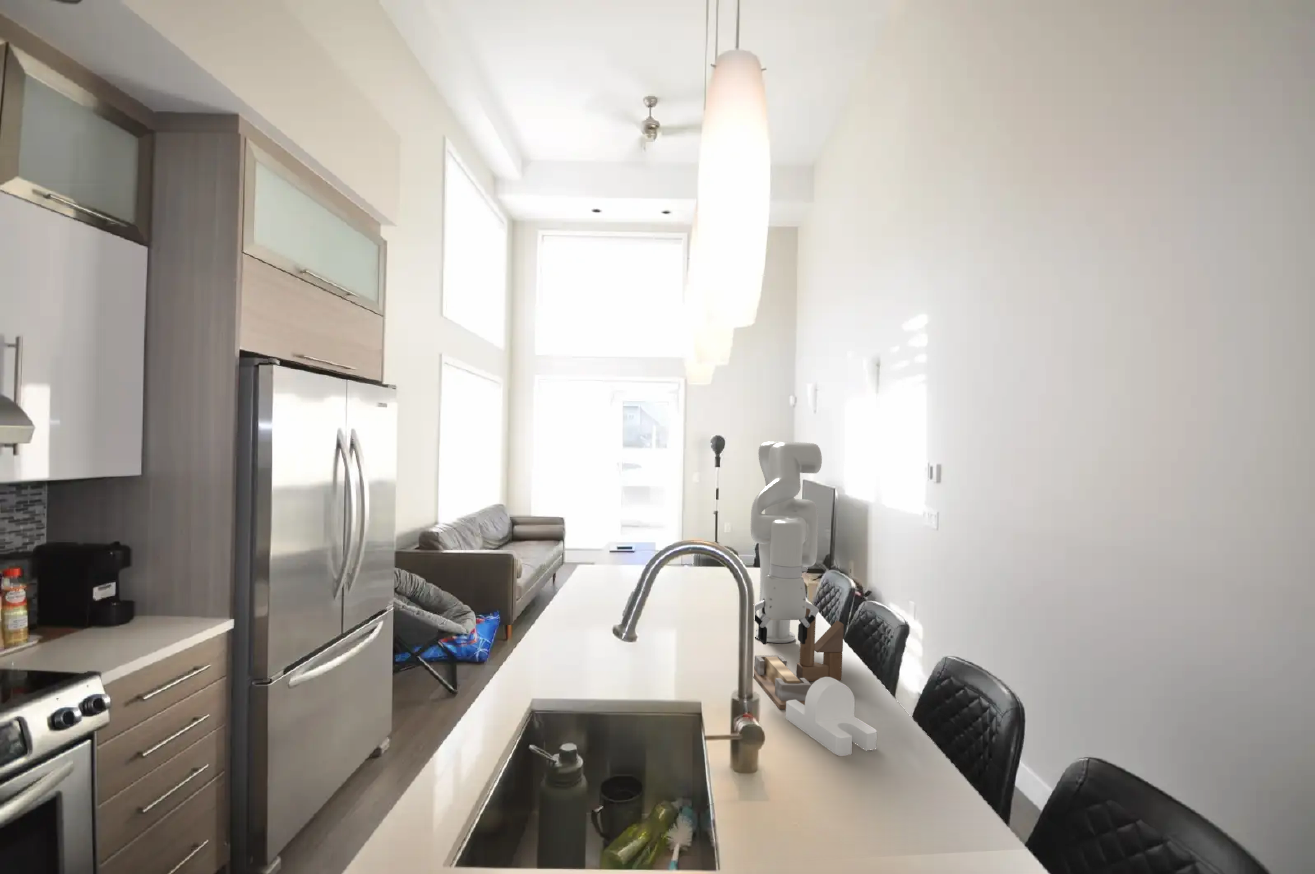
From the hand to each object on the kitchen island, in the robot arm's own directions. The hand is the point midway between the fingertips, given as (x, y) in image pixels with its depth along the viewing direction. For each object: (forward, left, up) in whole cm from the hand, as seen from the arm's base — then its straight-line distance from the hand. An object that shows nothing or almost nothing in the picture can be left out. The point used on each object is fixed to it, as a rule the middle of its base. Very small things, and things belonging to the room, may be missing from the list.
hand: (782, 642), depth 150 cm
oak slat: (+1, 0, -10) cm, 10 cm away
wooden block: (-5, +12, -11) cm, 17 cm away
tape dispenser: (+24, +2, -11) cm, 26 cm away
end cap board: (+1, 0, -11) cm, 11 cm away
